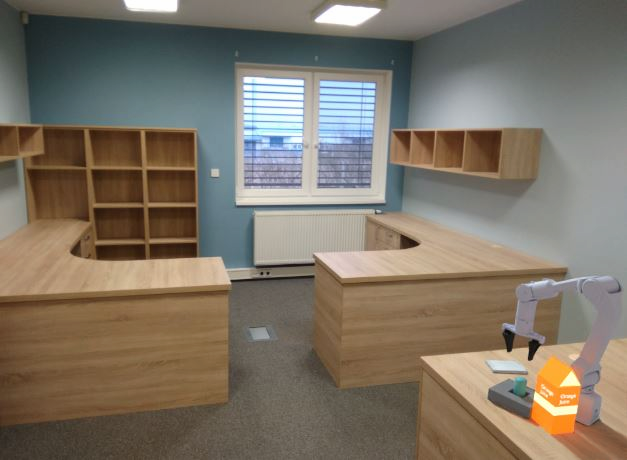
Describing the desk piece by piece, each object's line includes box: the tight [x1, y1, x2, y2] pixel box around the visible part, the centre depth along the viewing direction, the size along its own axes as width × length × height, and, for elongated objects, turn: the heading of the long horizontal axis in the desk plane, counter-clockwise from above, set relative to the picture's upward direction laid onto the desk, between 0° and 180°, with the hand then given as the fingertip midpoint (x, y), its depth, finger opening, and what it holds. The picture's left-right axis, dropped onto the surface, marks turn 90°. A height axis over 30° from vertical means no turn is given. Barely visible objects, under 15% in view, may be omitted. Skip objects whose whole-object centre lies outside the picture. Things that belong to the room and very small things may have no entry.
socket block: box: [487, 378, 535, 420], centre depth 160 cm, size 14×12×4 cm
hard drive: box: [484, 359, 528, 375], centre depth 185 cm, size 2×8×12 cm
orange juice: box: [530, 355, 581, 436], centre depth 147 cm, size 8×9×20 cm
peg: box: [513, 376, 528, 398], centre depth 160 cm, size 4×4×8 cm
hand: (519, 355), depth 173 cm, fingers open, 7 cm apart
